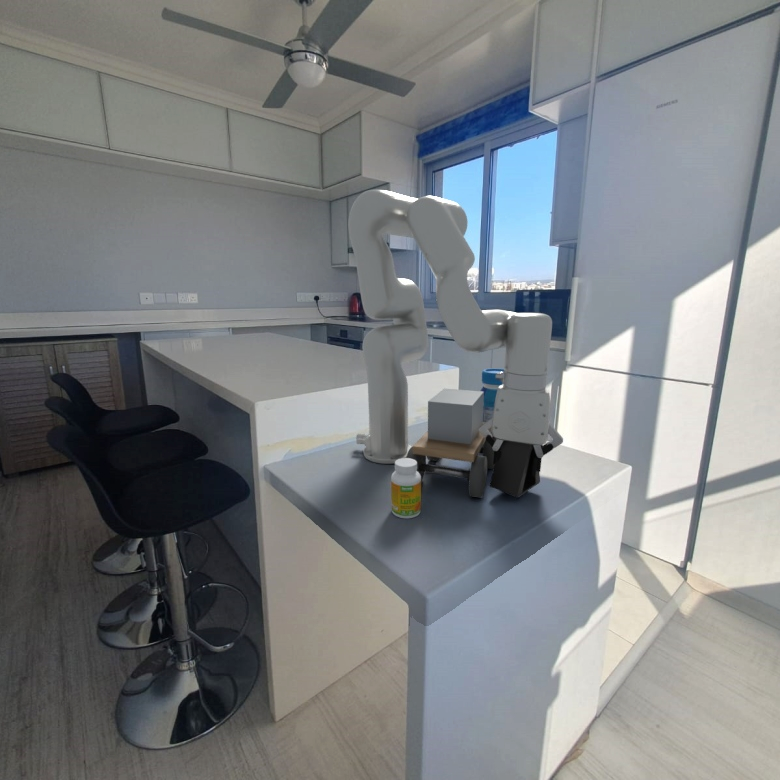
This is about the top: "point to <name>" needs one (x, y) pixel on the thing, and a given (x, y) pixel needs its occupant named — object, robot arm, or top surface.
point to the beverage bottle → (490, 391)
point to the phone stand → (514, 469)
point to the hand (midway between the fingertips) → (516, 470)
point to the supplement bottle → (406, 489)
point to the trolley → (455, 438)
